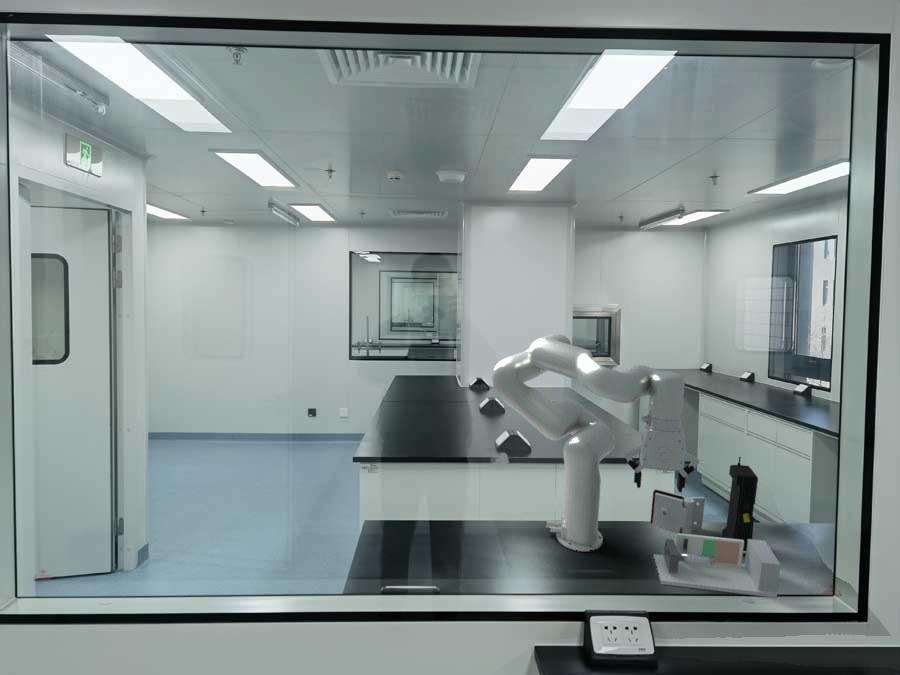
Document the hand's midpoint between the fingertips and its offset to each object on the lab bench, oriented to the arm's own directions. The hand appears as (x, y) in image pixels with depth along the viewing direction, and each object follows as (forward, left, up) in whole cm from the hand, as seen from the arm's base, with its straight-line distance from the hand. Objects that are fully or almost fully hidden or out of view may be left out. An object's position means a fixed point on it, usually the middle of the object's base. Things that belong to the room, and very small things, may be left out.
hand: (658, 487), depth 137 cm
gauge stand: (+14, -1, -22) cm, 26 cm away
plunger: (+9, -1, -20) cm, 22 cm away
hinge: (+10, +21, -22) cm, 33 cm away
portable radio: (+24, +13, -22) cm, 36 cm away
